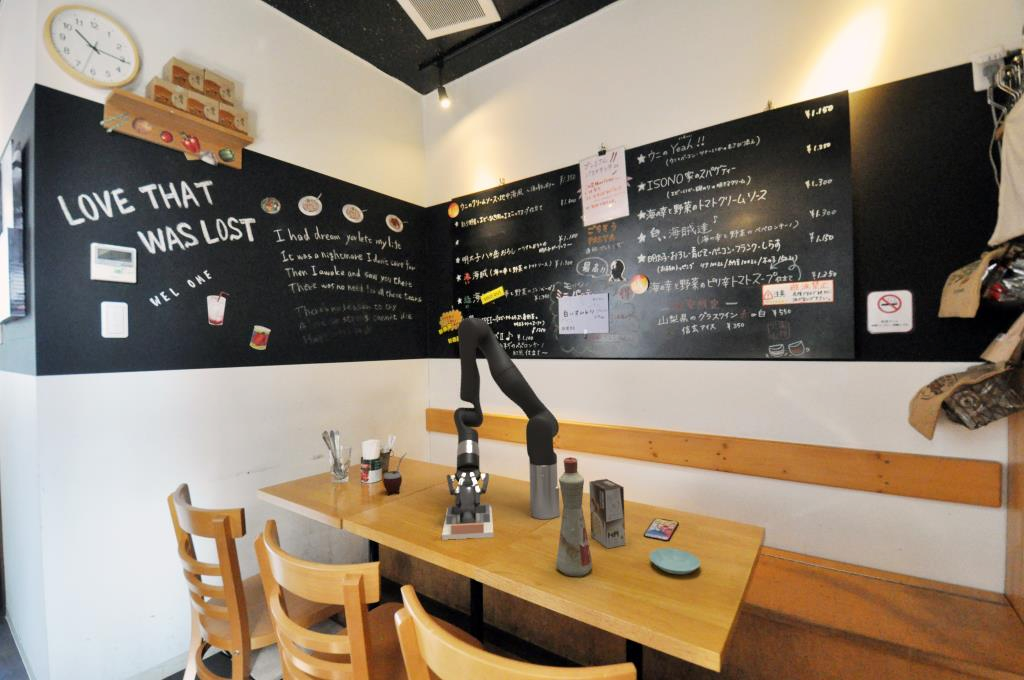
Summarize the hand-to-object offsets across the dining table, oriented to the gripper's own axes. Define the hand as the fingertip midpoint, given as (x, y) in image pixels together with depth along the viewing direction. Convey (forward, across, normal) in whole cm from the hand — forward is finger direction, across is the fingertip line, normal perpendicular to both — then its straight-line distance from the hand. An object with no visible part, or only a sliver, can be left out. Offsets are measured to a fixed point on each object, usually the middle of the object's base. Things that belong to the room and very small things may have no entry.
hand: (467, 506), depth 136 cm
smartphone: (+11, +58, 0) cm, 59 cm away
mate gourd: (-22, -30, +33) cm, 50 cm away
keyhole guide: (+2, 0, +8) cm, 9 cm away
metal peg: (+3, 0, +4) cm, 5 cm away
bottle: (+25, +27, -14) cm, 39 cm away
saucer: (+26, +52, -15) cm, 60 cm away
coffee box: (+14, +40, -3) cm, 43 cm away
